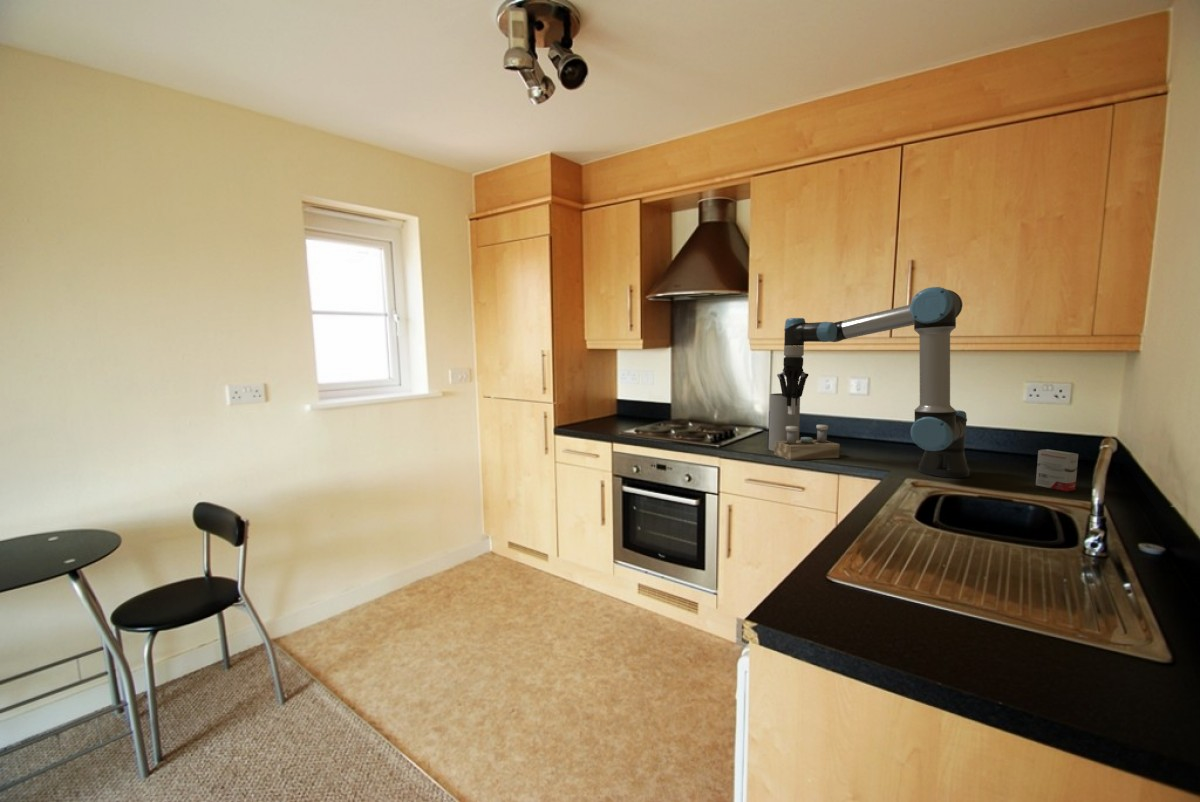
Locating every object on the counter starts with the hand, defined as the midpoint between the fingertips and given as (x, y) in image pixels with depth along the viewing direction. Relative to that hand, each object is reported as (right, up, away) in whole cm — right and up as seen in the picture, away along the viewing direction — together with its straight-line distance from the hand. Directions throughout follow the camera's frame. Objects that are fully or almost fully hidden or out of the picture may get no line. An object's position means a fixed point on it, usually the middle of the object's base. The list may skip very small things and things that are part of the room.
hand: (791, 414), depth 208 cm
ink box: (+67, -23, -46) cm, 84 cm away
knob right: (+14, -12, +4) cm, 19 cm away
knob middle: (+7, -17, +3) cm, 19 cm away
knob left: (0, -13, +1) cm, 13 cm away
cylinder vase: (+3, -17, +16) cm, 24 cm away
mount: (+7, -18, +3) cm, 20 cm away
